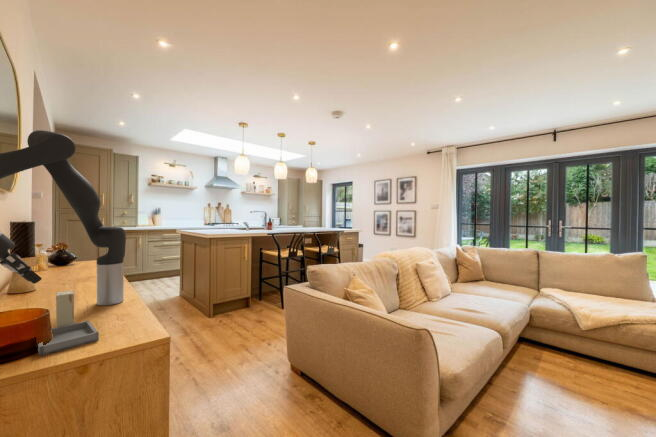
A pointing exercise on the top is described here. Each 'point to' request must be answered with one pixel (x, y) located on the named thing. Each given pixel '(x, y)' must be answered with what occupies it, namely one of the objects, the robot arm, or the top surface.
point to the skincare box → (64, 308)
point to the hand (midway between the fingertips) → (35, 280)
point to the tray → (69, 337)
